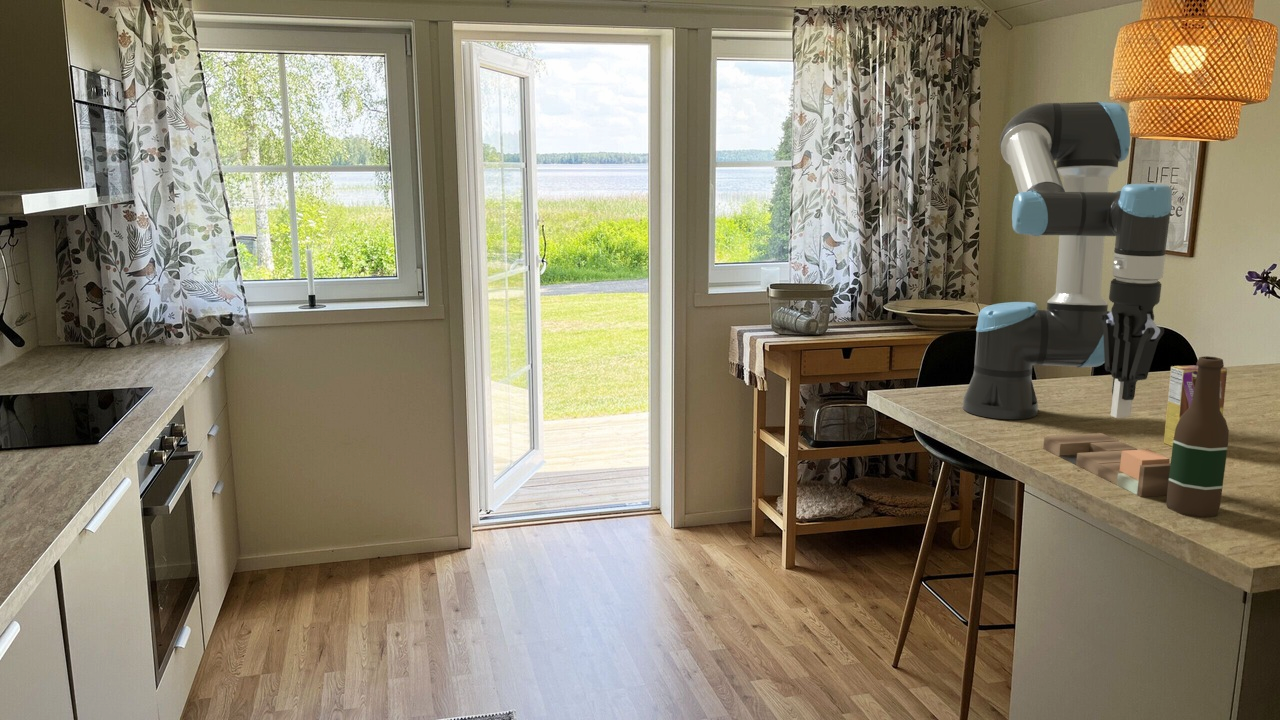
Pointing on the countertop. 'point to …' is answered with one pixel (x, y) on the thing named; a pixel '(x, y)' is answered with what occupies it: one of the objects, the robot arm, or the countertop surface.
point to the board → (1109, 462)
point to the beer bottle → (1200, 447)
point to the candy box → (1184, 396)
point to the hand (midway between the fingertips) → (1120, 416)
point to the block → (1139, 461)
